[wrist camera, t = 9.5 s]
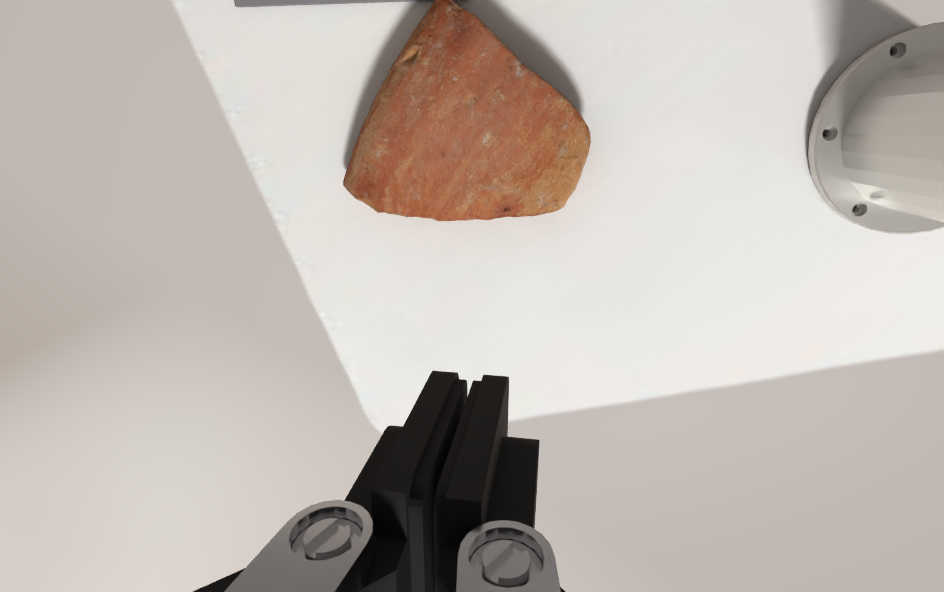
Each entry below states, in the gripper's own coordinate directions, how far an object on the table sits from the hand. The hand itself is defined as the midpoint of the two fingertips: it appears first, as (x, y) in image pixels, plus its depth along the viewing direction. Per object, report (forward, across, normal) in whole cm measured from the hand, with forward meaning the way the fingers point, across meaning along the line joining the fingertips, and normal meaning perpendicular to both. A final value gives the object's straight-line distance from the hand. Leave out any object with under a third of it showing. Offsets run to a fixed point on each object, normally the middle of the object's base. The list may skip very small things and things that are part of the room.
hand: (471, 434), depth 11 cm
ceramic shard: (+30, +5, -5) cm, 30 cm away
